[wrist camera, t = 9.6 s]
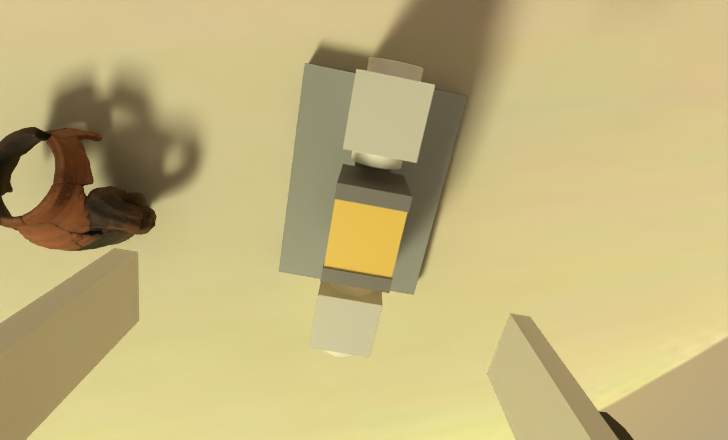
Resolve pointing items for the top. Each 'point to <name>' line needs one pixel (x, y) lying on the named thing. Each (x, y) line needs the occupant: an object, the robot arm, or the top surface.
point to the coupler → (366, 228)
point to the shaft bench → (328, 167)
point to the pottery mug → (71, 197)
